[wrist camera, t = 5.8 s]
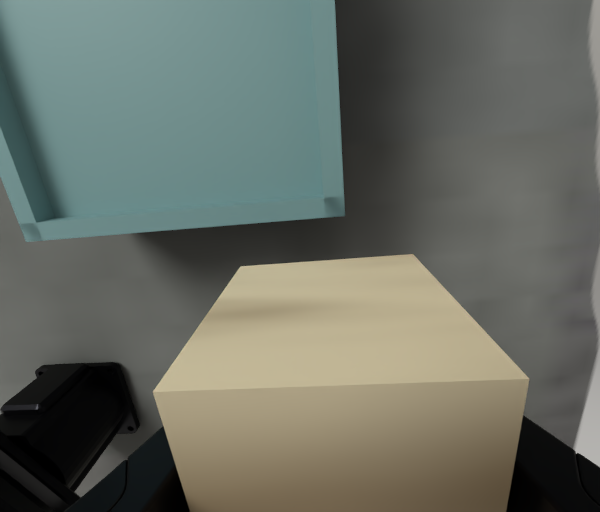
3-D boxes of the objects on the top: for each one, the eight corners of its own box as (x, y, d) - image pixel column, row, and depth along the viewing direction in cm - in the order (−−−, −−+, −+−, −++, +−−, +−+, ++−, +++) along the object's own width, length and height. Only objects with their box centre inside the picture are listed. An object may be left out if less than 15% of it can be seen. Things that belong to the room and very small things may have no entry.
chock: (409, 418, 10) (483, 637, 6) (266, 421, 11) (226, 628, 6) (412, 254, 9) (529, 379, 4) (240, 266, 9) (152, 392, 4)
